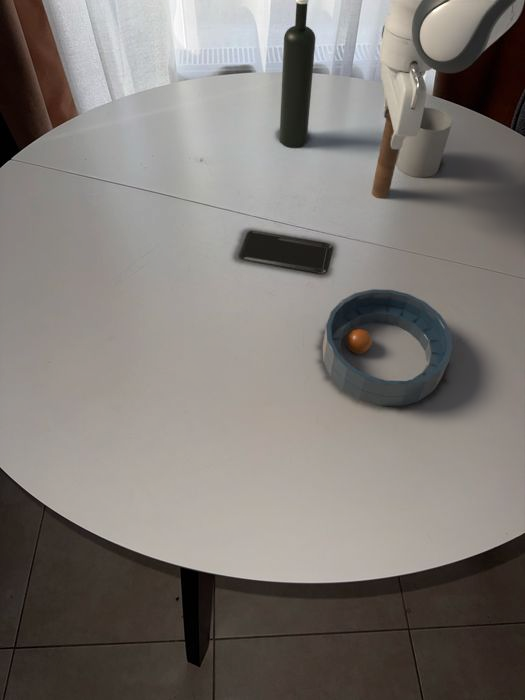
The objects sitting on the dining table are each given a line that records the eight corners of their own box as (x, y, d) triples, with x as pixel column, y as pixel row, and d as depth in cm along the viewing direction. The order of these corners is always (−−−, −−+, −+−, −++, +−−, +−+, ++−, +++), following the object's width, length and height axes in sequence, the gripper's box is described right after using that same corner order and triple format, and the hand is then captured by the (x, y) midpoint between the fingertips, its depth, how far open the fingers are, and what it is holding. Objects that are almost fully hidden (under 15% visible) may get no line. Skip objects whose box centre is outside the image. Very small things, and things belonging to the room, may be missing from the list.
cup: (421, 182, 113) (433, 136, 105) (388, 164, 117) (398, 117, 109) (446, 166, 117) (461, 119, 109) (414, 148, 120) (426, 102, 113)
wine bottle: (286, 130, 124) (295, -29, 101) (311, 137, 123) (325, -23, 99) (274, 143, 121) (280, -18, 97) (299, 150, 119) (312, -12, 96)
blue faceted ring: (430, 317, 91) (440, 290, 86) (451, 411, 80) (463, 386, 75) (319, 314, 91) (323, 287, 86) (325, 408, 80) (330, 383, 75)
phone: (325, 274, 95) (236, 258, 97) (324, 279, 96) (236, 263, 98) (332, 243, 100) (248, 228, 102) (332, 248, 100) (248, 233, 102)
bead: (368, 340, 87) (372, 324, 84) (370, 359, 85) (374, 343, 82) (344, 339, 87) (347, 323, 84) (346, 358, 85) (349, 342, 82)
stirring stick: (386, 192, 111) (404, 114, 98) (388, 203, 109) (406, 124, 96) (369, 192, 111) (385, 113, 98) (371, 202, 109) (387, 123, 96)
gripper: (443, 82, 82) (419, 167, 93) (420, 20, 95) (401, 101, 105) (398, 80, 82) (380, 166, 93) (381, 19, 95) (367, 100, 105)
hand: (391, 131), depth 99 cm, fingers open, 8 cm apart
